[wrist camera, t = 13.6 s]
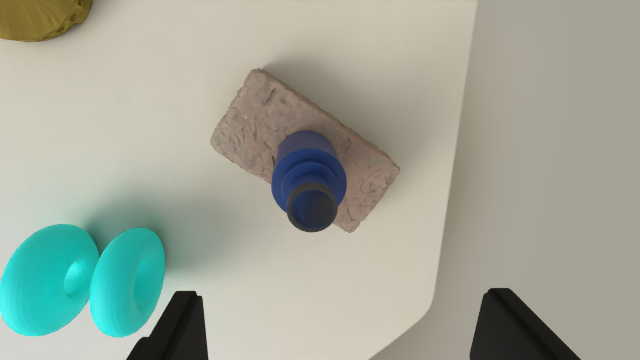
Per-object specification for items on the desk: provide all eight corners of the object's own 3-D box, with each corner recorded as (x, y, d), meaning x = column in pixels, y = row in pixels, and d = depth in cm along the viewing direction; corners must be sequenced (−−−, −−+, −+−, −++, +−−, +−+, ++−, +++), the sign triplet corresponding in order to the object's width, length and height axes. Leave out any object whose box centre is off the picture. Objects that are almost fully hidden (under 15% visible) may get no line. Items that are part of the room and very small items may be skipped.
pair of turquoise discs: (66, 206, 33) (-28, 261, 23) (166, 211, 34) (115, 265, 24) (81, 286, 36) (4, 363, 26) (171, 289, 37) (128, 364, 27)
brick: (214, 137, 31) (200, 147, 27) (257, 63, 29) (250, 62, 25) (346, 217, 35) (353, 237, 31) (392, 157, 34) (407, 170, 29)
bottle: (336, 130, 27) (361, 166, 17) (333, 186, 29) (354, 249, 19) (276, 129, 27) (264, 164, 17) (277, 186, 29) (266, 250, 18)
